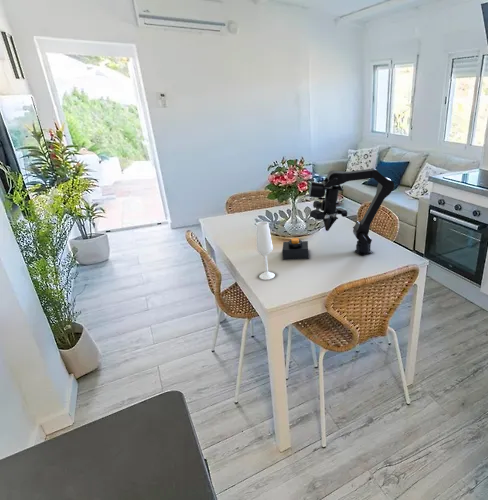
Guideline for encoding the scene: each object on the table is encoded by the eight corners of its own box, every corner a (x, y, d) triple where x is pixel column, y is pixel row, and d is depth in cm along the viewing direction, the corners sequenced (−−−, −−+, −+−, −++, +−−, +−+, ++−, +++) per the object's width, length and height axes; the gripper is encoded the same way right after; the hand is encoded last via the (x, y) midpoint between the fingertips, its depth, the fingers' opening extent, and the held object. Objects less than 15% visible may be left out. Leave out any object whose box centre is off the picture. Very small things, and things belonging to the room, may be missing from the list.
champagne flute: (256, 275, 150) (250, 223, 140) (269, 270, 155) (264, 219, 145) (265, 281, 146) (260, 227, 136) (278, 275, 150) (274, 223, 141)
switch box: (308, 250, 176) (307, 237, 173) (308, 258, 167) (308, 245, 164) (284, 251, 174) (283, 238, 171) (283, 259, 165) (282, 246, 162)
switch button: (299, 241, 170) (298, 237, 169) (299, 243, 166) (298, 240, 166) (291, 241, 169) (291, 238, 169) (291, 244, 166) (291, 240, 165)
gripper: (335, 193, 171) (330, 223, 177) (304, 195, 159) (301, 227, 165) (350, 199, 164) (345, 230, 170) (319, 202, 152) (315, 235, 158)
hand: (326, 230), depth 166 cm, fingers closed
